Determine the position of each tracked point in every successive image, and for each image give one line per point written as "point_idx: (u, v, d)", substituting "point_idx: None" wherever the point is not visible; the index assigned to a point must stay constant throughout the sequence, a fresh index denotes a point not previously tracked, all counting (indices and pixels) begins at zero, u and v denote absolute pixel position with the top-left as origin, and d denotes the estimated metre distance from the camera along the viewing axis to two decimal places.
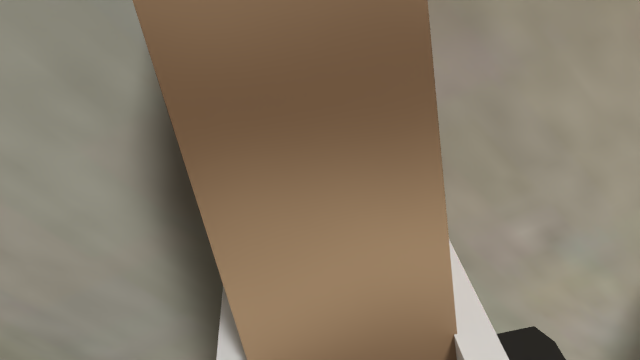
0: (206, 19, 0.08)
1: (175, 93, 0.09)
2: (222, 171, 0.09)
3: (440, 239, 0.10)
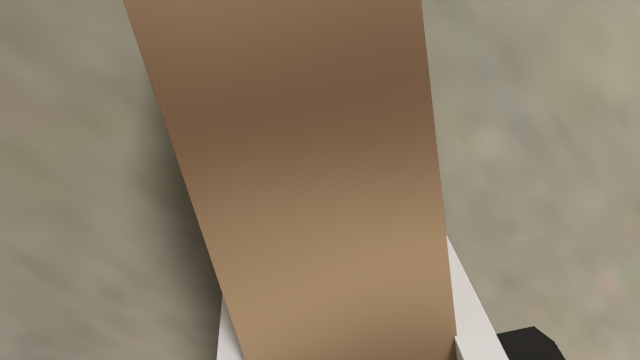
0: (201, 29, 0.08)
1: (171, 103, 0.09)
2: (219, 180, 0.09)
3: (438, 245, 0.10)
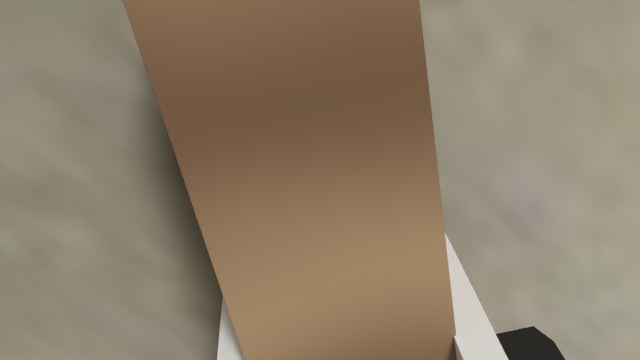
0: (200, 28, 0.08)
1: (170, 102, 0.09)
2: (218, 178, 0.09)
3: (437, 243, 0.10)
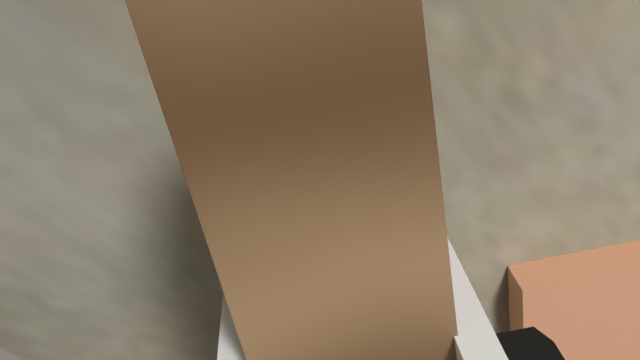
0: (203, 30, 0.08)
1: (173, 103, 0.09)
2: (221, 180, 0.09)
3: (439, 245, 0.10)
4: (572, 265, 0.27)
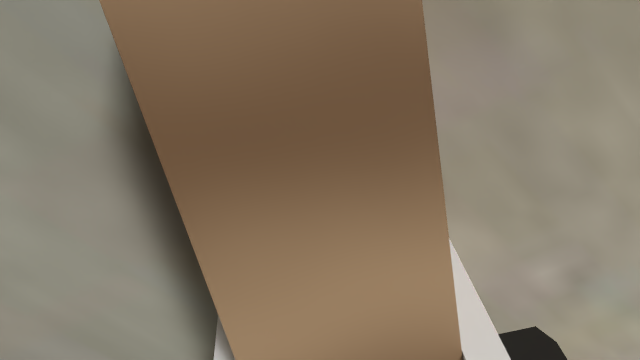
0: (191, 51, 0.08)
1: (161, 128, 0.08)
2: (214, 205, 0.09)
3: (443, 265, 0.10)
4: None
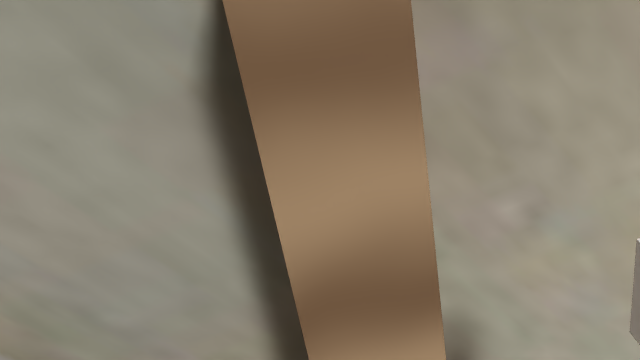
0: (268, 13, 0.13)
1: (245, 61, 0.13)
2: (273, 116, 0.14)
3: (421, 169, 0.15)
4: None
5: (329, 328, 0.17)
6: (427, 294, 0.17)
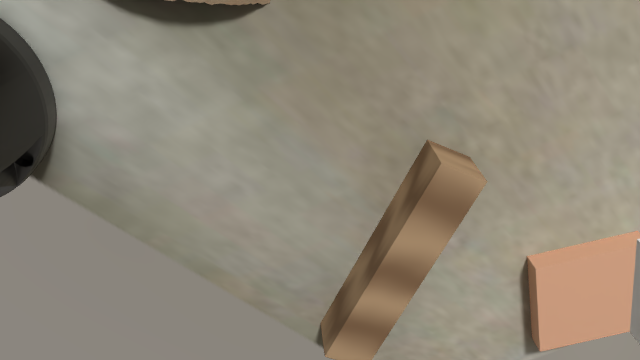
0: (439, 188, 0.44)
1: (424, 195, 0.44)
2: (419, 211, 0.45)
3: (443, 246, 0.46)
4: (561, 254, 0.52)
5: (382, 278, 0.47)
6: (416, 283, 0.48)
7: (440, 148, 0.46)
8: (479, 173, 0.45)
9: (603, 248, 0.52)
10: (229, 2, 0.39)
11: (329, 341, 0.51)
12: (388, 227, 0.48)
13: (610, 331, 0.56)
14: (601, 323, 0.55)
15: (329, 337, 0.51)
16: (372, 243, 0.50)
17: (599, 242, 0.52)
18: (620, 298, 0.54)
